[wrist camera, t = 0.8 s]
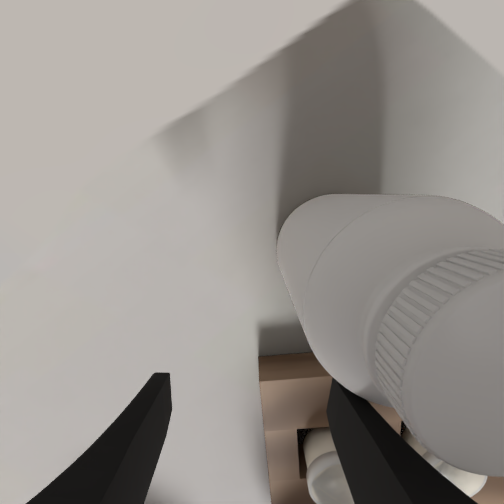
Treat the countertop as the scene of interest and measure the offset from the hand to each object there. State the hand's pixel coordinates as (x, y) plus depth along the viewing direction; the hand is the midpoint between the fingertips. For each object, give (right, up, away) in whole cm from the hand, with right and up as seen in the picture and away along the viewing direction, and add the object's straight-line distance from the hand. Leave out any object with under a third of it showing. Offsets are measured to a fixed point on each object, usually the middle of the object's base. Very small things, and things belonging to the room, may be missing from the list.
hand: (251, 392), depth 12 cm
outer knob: (+6, -10, +10) cm, 15 cm away
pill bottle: (+6, +6, +9) cm, 12 cm away
